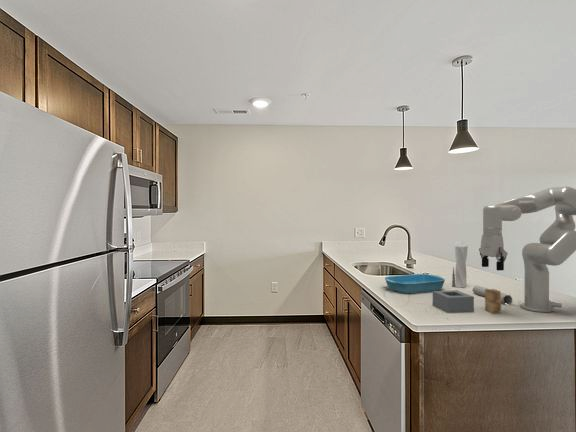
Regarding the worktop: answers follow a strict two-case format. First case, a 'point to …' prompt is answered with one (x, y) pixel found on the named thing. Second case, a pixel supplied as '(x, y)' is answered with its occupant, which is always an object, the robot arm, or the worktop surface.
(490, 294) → the peg
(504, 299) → the tube
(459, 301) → the socket
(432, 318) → the worktop surface
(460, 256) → the skyscraper
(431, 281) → the casserole dish
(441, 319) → the worktop surface
